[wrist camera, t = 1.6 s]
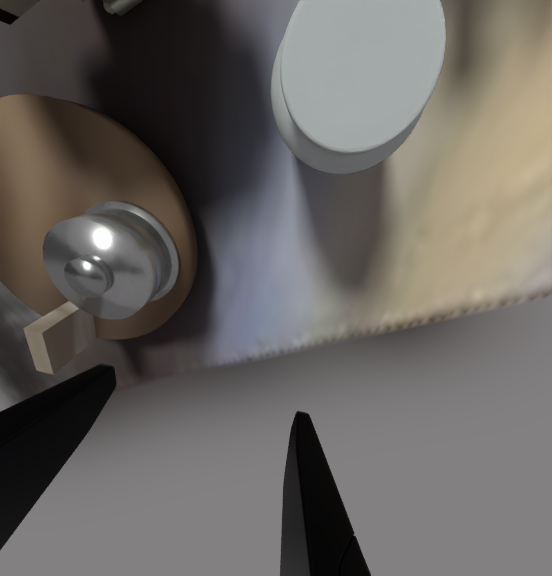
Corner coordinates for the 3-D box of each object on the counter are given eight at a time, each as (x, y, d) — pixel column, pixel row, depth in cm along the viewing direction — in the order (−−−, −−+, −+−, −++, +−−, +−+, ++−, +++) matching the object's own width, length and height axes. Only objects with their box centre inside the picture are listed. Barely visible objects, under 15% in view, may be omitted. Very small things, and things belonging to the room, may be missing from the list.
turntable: (12, 305, 23) (-67, 345, 18) (-62, 74, 16) (-227, 40, 11) (193, 347, 23) (160, 400, 18) (204, 128, 15) (152, 117, 10)
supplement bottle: (366, 175, 16) (420, 199, 8) (280, 157, 17) (241, 163, 8) (401, 63, 14) (534, -78, 5) (299, 44, 14) (271, -120, 6)
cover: (88, 287, 19) (37, 317, 16) (72, 189, 16) (5, 200, 13) (179, 309, 19) (148, 344, 16) (181, 213, 16) (142, 230, 13)
